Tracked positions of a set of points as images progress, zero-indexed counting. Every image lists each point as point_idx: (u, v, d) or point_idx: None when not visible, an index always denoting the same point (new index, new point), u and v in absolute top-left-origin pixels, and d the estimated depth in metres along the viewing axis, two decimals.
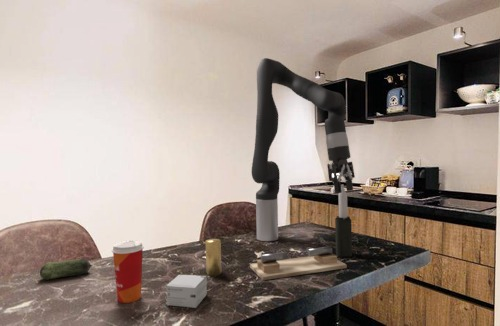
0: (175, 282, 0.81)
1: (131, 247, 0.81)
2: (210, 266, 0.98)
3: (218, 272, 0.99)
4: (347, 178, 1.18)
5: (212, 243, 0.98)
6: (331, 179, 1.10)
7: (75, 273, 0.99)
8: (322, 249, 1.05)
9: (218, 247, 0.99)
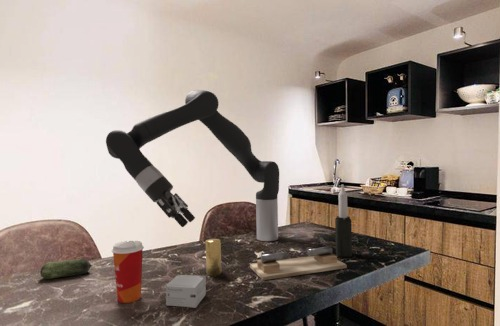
0: (174, 282, 0.81)
1: (131, 247, 0.81)
2: (210, 266, 0.98)
3: (218, 272, 0.99)
4: None
5: (212, 243, 0.98)
6: None
7: (75, 273, 1.00)
8: (322, 249, 1.05)
9: (218, 247, 0.99)
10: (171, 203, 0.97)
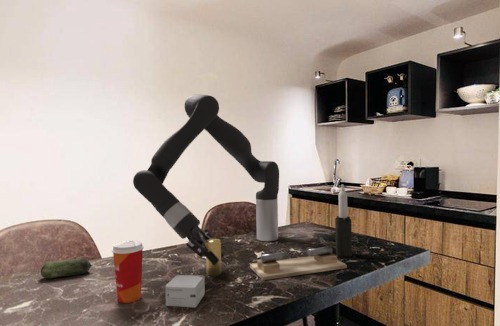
0: (173, 282, 0.80)
1: (131, 247, 0.81)
2: (210, 266, 0.98)
3: (218, 272, 0.99)
4: None
5: (212, 243, 0.98)
6: None
7: (75, 273, 1.00)
8: (322, 249, 1.05)
9: (218, 247, 0.99)
10: (200, 241, 0.98)
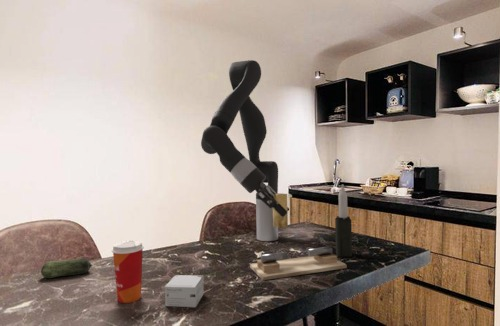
0: (173, 283, 0.80)
1: (131, 247, 0.81)
2: (278, 218, 1.01)
3: (286, 224, 1.01)
4: None
5: (280, 196, 1.00)
6: None
7: (75, 272, 1.00)
8: (322, 249, 1.05)
9: (285, 200, 1.01)
10: (268, 194, 1.01)
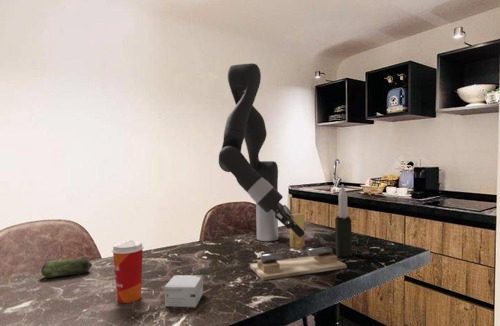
0: (172, 283, 0.80)
1: (131, 247, 0.81)
2: (296, 238, 1.01)
3: (303, 244, 1.02)
4: None
5: (298, 216, 1.01)
6: None
7: (75, 272, 1.00)
8: (322, 249, 1.05)
9: (303, 220, 1.02)
10: (285, 214, 1.01)
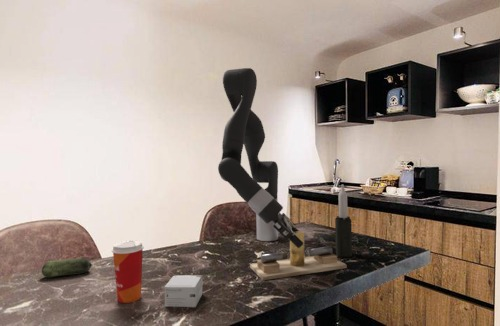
0: (172, 283, 0.80)
1: (131, 247, 0.81)
2: (296, 257, 1.02)
3: (303, 263, 1.02)
4: None
5: (298, 235, 1.01)
6: None
7: (75, 272, 1.00)
8: (322, 249, 1.05)
9: (303, 239, 1.02)
10: (285, 225, 1.01)
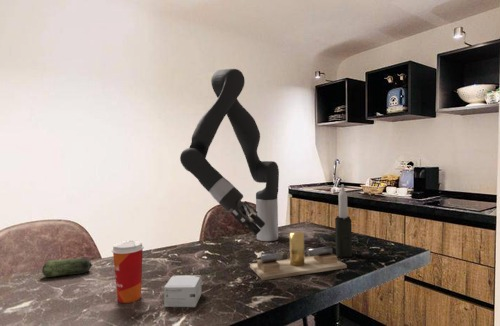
0: (172, 283, 0.80)
1: (131, 247, 0.81)
2: (296, 257, 1.02)
3: (303, 263, 1.02)
4: None
5: (297, 235, 1.01)
6: None
7: (75, 272, 1.01)
8: (322, 249, 1.05)
9: (303, 239, 1.02)
10: (244, 212, 1.04)
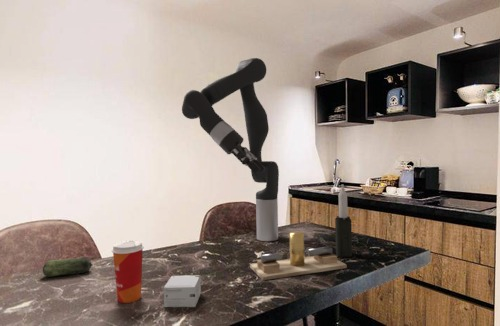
0: (171, 283, 0.80)
1: (131, 247, 0.81)
2: (296, 257, 1.02)
3: (303, 263, 1.02)
4: None
5: (297, 235, 1.01)
6: None
7: (75, 271, 1.01)
8: (322, 249, 1.05)
9: (302, 239, 1.02)
10: (243, 153, 1.06)
